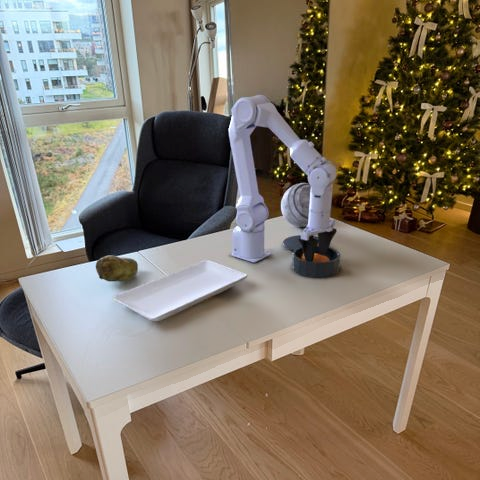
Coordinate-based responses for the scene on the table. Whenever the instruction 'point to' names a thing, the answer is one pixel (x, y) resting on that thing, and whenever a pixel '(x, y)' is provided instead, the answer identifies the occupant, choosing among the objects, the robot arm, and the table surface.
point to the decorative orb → (297, 204)
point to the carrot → (318, 258)
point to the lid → (294, 242)
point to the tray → (180, 290)
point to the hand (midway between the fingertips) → (316, 257)
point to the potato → (116, 268)
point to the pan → (316, 264)
